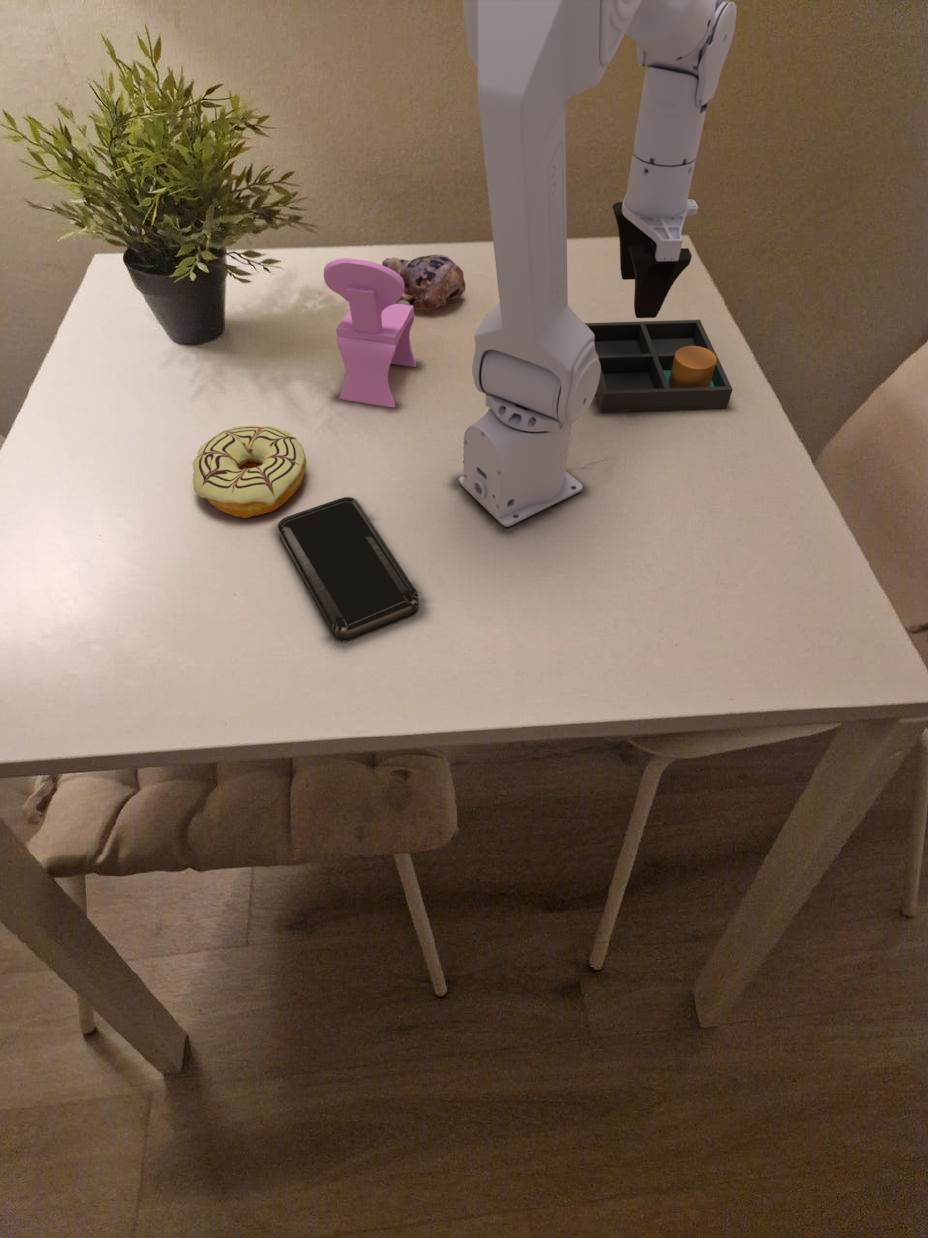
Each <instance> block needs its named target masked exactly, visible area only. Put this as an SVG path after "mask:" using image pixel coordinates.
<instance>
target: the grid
mask: <svg viewBox="0 0 928 1238" xmlns="http://www.w3.org/2000/svg"><path fill="white" fill-rule="evenodd" d="M584 323H585V324H586V325H587V326H588V328H589V329H590V330H591V331H592V332H593V333H594V335H595V338H594V344H595V351H596V353H597V355H598V358H599V362H600V366H601V373H600V379H599V384H598V387H597V390H596V393H595V398H596V401H597V405H598V409H599V413H602V414H603V413H628V412H629V413H630V412H653V411H654V412H656V411H657V412H658V411H659V412H660V411H685V410H686V411H687V410H712V409H713V410H715V409H716V410H717V409H727V408H728V407H729V403H730V399H731V396H732V393H733V390H734V389H733V387H732V384H731V383H730V381H729V379H728V376H727V374H726V372H725V369H724V368H723V365H722V364H721V361H720V359H719V357H718V355H717V352H716V351H715V348H714V347H713V345H712V343H711V340H710V338H709V335H708V334H707V332H706V330H705V327H704V325H703V323H702V320H701V319H680V320H679V319H675V320H649V321H648V320H646V321H645V320H643V321H613V322H612V321H611V322H584ZM685 346H699V347H703V348H706V349H708V350H710V351H711V352H713V353H714V354H715V356H716V359H717V362H716V365H715V369H714V372H713V376H712V379H711V383H710V386H709V387H695V388H670V386H669V377H670V373H671V369H672V365H673V360H674V356H675V353H676V351H677V350H678V349H680V348H682V347H685Z"/></svg>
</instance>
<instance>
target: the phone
mask: <svg viewBox="0 0 928 1238" xmlns="http://www.w3.org/2000/svg"><path fill="white" fill-rule="evenodd" d="M277 528H278V532H279V536H280V539H281V541H282V542H283V544H284V546H285V549H286V550H287V552H288V554H289V556H290V557H291V559H292V561H293V563H294V565H295V567H296V568H297V570H298V572H299V574H300V576H301V578H302V579H303V581H304V583H305V585H306V587H307V589H308V591H309V592H310V594H311V596H312V598H313V600H314V602H315V603H316V605H317V607H318V609H319V611H320V613H321V614H322V616H323V619H324V620H325V622H326V623H327V626H328V627H329V629H330V631H331V633H332V634H333V636H334V637H335V638H337V639H339V640H350V639H353V638H355V637H357V636H358V637H359V636H361V635H363V634H365V633H368V632H371V631H373V630H376V629H379V628H380V627H383V626H385V625H388V624H390V623H391V624H392V623H393V622H395V621H398V620H401V619H403V618H405V617H408V616H410V615H412V614H415V613H416V611H418V609H419V606H420V605H419V604H420V603H419V593H418V591H417V590H416V588H415V586H414V585H413V584H412V582H411V580H410V579H409V577H408V576H407V575H406V573H405V572H404V570H403V568H402V567H401V565H400V563H399V562H398V561H397V559H396V557H395V556H394V554H393V553H392V552H391V550H390V549H389V547H388V546H387V544H386V542H385V541H384V539H383V538H382V536H381V534H380V533H379V532H378V530H377V528H376V527H375V525H374V524H373V522H372V520H370V517H369V516H368V515H367V513H366V512H365V510H364V509H363V507H362V506H361V504H360V502H359V501H358V500H357V499H356V498H354V497H350V496H344V497H340V498H337V499H334V500H332V501H329V502H326V503H322V504H320V505H316V506H314V507H311V508H308V509H305V510H302V511H299V512H297V513H293V514H290V515H287V516H285V517H282V518H281V519H280V520H279V521H278V524H277Z"/></svg>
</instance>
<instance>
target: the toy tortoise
mask: <svg viewBox="0 0 928 1238" xmlns="http://www.w3.org/2000/svg"><path fill="white" fill-rule="evenodd" d="M381 265H383V266H385V267H388V268H390V269H391V270H393V271H395V272H396V273H398V274H399V275H400V276H401V277H402V279H403V281H404V284H405V288H404V292H403V295H402V297H401V298H400V299H403V300H405V301H406V302H408V305H411V306H413V309H415V310H418V311H422V310H425V311H433V310H437V309H438V308H439V307H440V306H441V305H443V306H445V305H447V300H452V299H455V298H458V297H461V296H463V294H464V293H465V291H466V287H467V286H466V281H465V278H464V271H463V269H461V267H460V266H459V265H457V263H455V262H454V261H453V259H451V257H449V256H447V255H444V254H430V255H429V254H428V255H423V256H419V257H416V258H413V259H410V260H408V259H404V258H403V259H402V258H399V257H395V256H393V257H391V258H389V257H387V258H385V259H384V260H383V261H382V262H381Z"/></svg>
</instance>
